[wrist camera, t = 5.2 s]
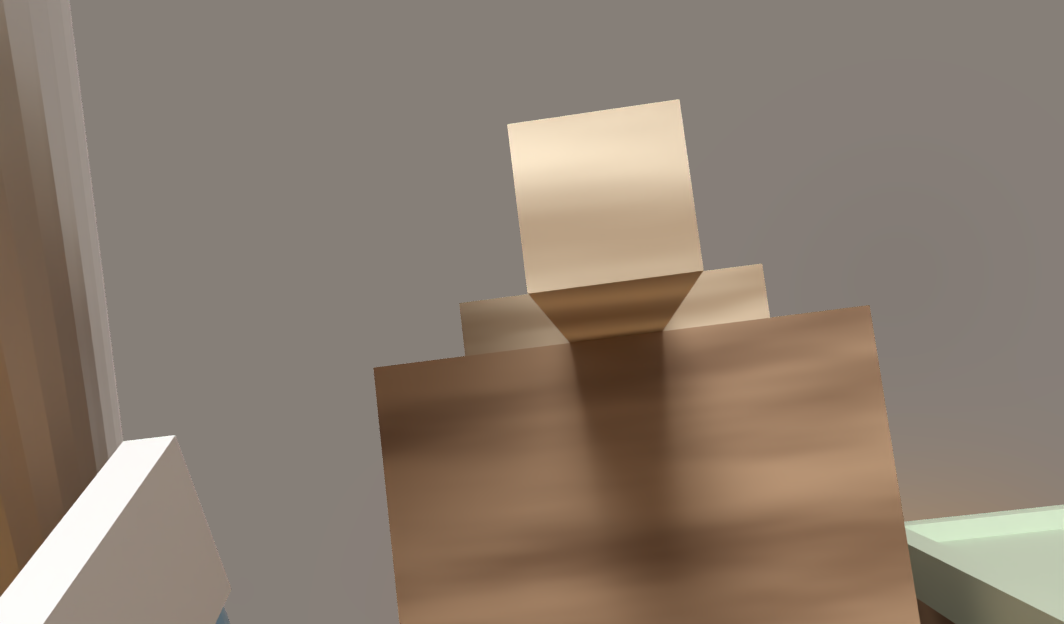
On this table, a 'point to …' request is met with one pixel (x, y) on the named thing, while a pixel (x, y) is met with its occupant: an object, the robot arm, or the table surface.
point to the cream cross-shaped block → (608, 237)
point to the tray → (991, 566)
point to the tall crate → (650, 480)
